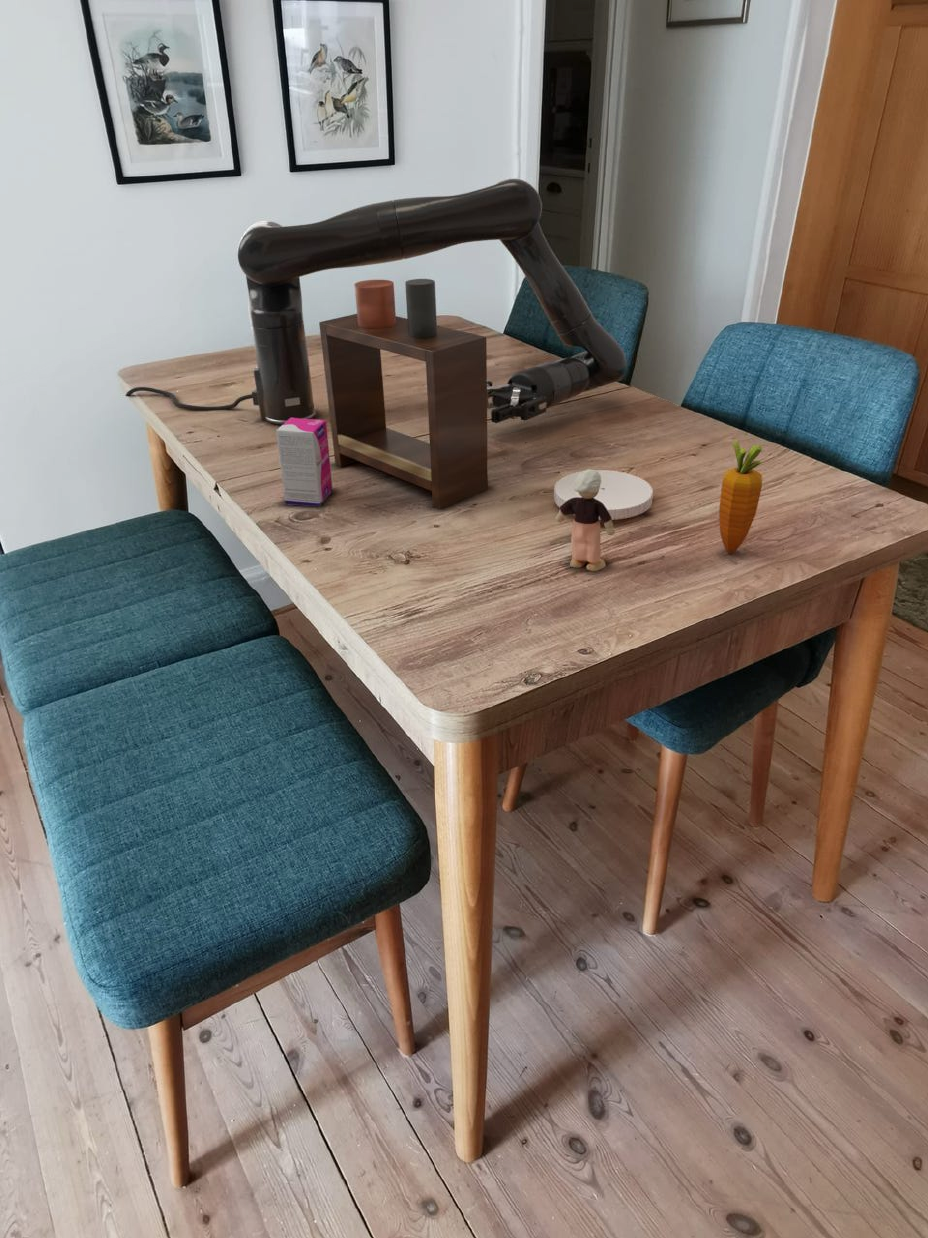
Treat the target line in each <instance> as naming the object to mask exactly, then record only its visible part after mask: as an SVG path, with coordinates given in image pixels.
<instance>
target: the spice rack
mask: <svg viewBox="0 0 928 1238" xmlns="http://www.w3.org/2000/svg"><path fill="white" fill-rule="evenodd" d="M404 285H405V301H406V318H405V317H402V316H397V314H396V298H395V283H394V281H392V280H388V279H367V280H360V281H357V282H355V283H354V294H355V295H354V296H355V306H356V307H355V308H356V313H354V314H349V315H345V316H340V317H336V318H332V319H328V320H323V321H319V322H318V324H319V335H320V343H321V351H322V361H323V367H324V369H323V370H324V376H325V377H324V378H325V386H326V394H327V395H326V396H327V402H328V403H327V404H328V413H329V421H330V428H331V429H330V430H331V438H332V449H333V456H334V465H335V466H337V467H339V468H343V467H345V466H349V465H351V464H354V463H356V462H360V463H362V464H365V465H368V466H369V467H372V468H374V469H377V470H380V471H382V472H384V473H386V474H389V475H392V476H393V477H396V478H399V479H402V480H404V481H407V482H409V483H411V484H414V485H416V486H419V487H421V488H424V489H426V490H429V491H431V495H432V496H431V497H432V498H431V499H432V507H433V508H436V509H438V510H443V509H445V508H446V507H449V506H452V505H453V504H455V503H458V502H461V501H462V500H465V499H467V498H470V497H472V496H474V495H477V494H479V493H481V492H484V491H486V490H488V489H489V476H488V475H489V471H488V470H489V469H488V468H489V465H488V463H489V460H488V408H487V382H488V368H487V367H488V366H487V365H488V363H487V359H488V358H487V355H488V354H487V336H485V335H480V334H475V333H472V332H467V331H462V330H458V329H453V328H449V327H445V326H441V325H438V323H437V299H436V298H437V297H436V281H435V280H434V279H430V278H414V279H409V280H406V281H405V282H404ZM381 350H382V351H385V352H388V353H393V354H396V355H399V356H404V357H407V358H411V359H414V360H418V361H422V362H425V373H426V392H427V393H426V395H427V413H428V433H429V434H428V435H429V436H428V437H429V442H427V441H424V440H421V439H419V438H416V437H413V436H410V435H407V434H404V433H402V432H399V431H397V430H394V429H390V428H388V427H387V420H386V419H387V417H386V406H385V393H384V392H385V391H384V379H383V368H382V367H383V366H382V356H381V355H382V354H381Z"/></svg>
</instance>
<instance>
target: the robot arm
mask: <svg viewBox="0 0 928 1238" xmlns="http://www.w3.org/2000/svg"><path fill="white" fill-rule="evenodd" d="M542 212H543V202H542V199H541V196H540V194H539V192H538V191H537V189H536V188H535V187H534V186H532V184H531V183H529V182H527V181H526V180H524V179H521V178H520V179H519V178H508V179H503V180H501V181H498V182H497V183H495V184H493V185H490V186H486V187H483V188H480V189H477V190H473V191H468V192H465V193H460V194H455V195H445V196H443V195H442V196H417V197H405V198H399V199H393V200H386V201H381V202H376V203H371V204H365V205H363V206H359V207H356V208H353V209H350V210H347V211H345V212H341V213H340V214H337V215H334V216H331V217H328V218H327V219H324V220H321V221H317V222H313V223H307V224H299V225H297V224H296V225H287V226H283V225H282V224H280V223H278V222H275V221H271V220H261V221H258V222H255V223H254V224H252V225H250V226H249V227H248V228H247V229H246V231H245V232H244V233H243V235H242V236H241V238H240V240H239V242H238V245H237V249H236V250H237V252H236V256H237V257H236V258H237V263H238V266H239V268H240V269H241V271H242V273H243V274H244V275H245V278H246V279H245V280H246V288H247V296H248V297H247V298H248V315H249V321H250V328H251V333H252V340H253V341H252V342H253V346H254V353H255V359H256V365H257V366H256V367H254V368H253V377H254V382H255V389H254V390H253V391H252V392H251V394H246V395H242V396H240V397H238V398H236V399H235V401H234V402H232V403H230V404H226V405H220V406H219V405H218V406H201V405H192V404H186V403H181V402H179V401H178V400H177V398H176V396H175V394H174V393H172V392H170V391H167V390H162V389H157V388H153V387H147V386H136V387H133V388H131V389H130V390H128V391H127V392H126V393H125V395H124V396H125V397H130V396H131V395H133V394H134V393H136V392H151V393H155V394H159V395H164V396H167V397H170V398H171V402H172V403H173V404H174V406H176V407H178V408H181V409H185V410H186V409H187V410H192V411H222V410H223V411H225V410H230V409H234V408H236V407H237V406H238V405H239V404H240V403H241V402H243V401H246V400H251V399H252V403H253V406H258V408H259V415H260V420H261V421H266V422H268V423H270V424H273V425H281V426H282V425H283V424H284V423H285V422H287V421H288V420H289V419H290V418H301V419H315V417H316V416H317V414H316V408H315V401H314V395H313V385H312V377H311V370H310V369H311V368H310V361H309V353H308V345H307V337H306V329H305V321H304V313H303V297H302V289H301V280H300V277H304V276H307V275H311V274H315V273H318V272H324V271H327V270H334V269H345V268H347V269H348V268H357V267H363V266H364V267H365V266H373V265H379V264H380V265H381V264H387V263H392V262H397V261H403V260H408V259H412V258H416V257H420V256H424V255H427V254H431V253H434V252H438V251H441V250H444V249H447V248H451V247H453V246H457V245H461V244H466V243H473V242H484V241H485V242H486V241H497V240H499V242H501V243H502V245H503V246H504V247H505V248H506V250H507V251H508V252H509V254H510V255H511V256H512V257H513V259H514V261H515V262H516V263H517V265H518V266H519V268H520V269H521V271H522V273H523V275H524V276H525V278H526V280H527V282H528V283H529V285H530V287H531V288H532V290H533V292H534V294H535V296H536V298H537V300H538V302H539V303H540V305H541V307H542V309H543V312H545V315H546V317H547V318H548V320H549V322H550V324H551V326H552V327H553V329H554V331H555V333H556V335H557V336H558V338H559V340H560V341H561V343H562V344H563V345H564V346H566V347H578V348H581V349H583V350H584V351H582V352H580V353H578V354H575V355H572V356H570V357H569V356H567V357H564V358H562V359H557V360H553V361H550V362H545V363H540V364H538V365H535V366H532V367H529V368H526V369H523V370H519V371H516V372H514V373H513V374H512V375H511V377H510V378H509V380H508V381H507V383H500V384H499V385H493V382H492V381H490V380H487V409H492V410H491V411H490V415H491V417H490V418H491V423H494V424H498V423H501V422H504V421H506V420H509V419H511V420H516V419H517V420H518V418H520V420H521V421H525V422H526V421H529V420H531V419H533V418H535V417H538V416H540V415H542V414H545V413H547V409H550V408H553V407H555V406H557V405H559V404H560V403H562V402H565V401H567V400H569V399H572V398H575V397H577V396H579V395H581V394H582V393H586V392H588V391H589V392H590V391H592V390H595V389H599V388H601V387H604V386H607V385H611V384H614V383H617V382H618V381H621V380H622V379H623V378H624V377H625V375H626V373H627V365H628V364H627V363H628V362H627V358H626V354H625V352H624V350H623V348H622V347H621V345H620V344H619V342H617V341H616V339H615V338H614V337H613V336H612V335H611V333H609V332H608V331H607V330H606V329H605V327H603V326H602V325H601V323H599V322H598V321H597V320H596V318H595V317H594V315H593V313H592V311H591V310H590V307H589V306H588V304H587V302H586V300H585V299H584V296H583V295H582V293H581V291H580V290H579V288H578V286H577V285H576V284H575V282H574V281H573V279H572V278H571V276H570V275H569V273H568V272H567V270H565V267H564V266H563V265H562V264H561V262H560V261H559V259H558V258H557V256H556V255H555V253H554V252H553V250H552V248H551V246H550V245H549V243H548V240H547V239H546V236H545V234H544V233H543V230H542V228H541V224H540V222H539V221H540V219H541V217H542V214H543V213H542ZM490 398H491V399H492V400H491V402H489V399H490Z"/></svg>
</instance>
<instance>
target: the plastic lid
mask: <svg viewBox="0 0 928 1238" xmlns="http://www.w3.org/2000/svg"><path fill="white" fill-rule="evenodd" d="M593 470H594V471H597V472H598V473H599V474H600V476H601V483H600V485H601V486H600V488H599V492H598V494H597V495H596V496H595V497H594V499H596V500H598V501H600V502H602V503H603V504H604V505H605V507H606V508H607V510H608V512H609V514H610V516H611V518H612V521H614V520H617V521H618V520H623V519H627V518H633V517H637V516H638V515H641V514H643V513H644V512H645V513H646V511H648V510H649V509H650V507H651V506H652V505H653V495H654V489H653V487H652V485H650V483H649V481H646V480H644V479H643V478H641V477H638V476H637V475H634V474H631V473H628V472H623V471H619V470H618V471H617V470H608V469H605V470H604V469H601V470H600V469H593ZM583 471H584V470H582V471H577V472H573V473H570V474H567V475H564V476H562V477H561V478H560V479H558V481H556V483H555V484H554V486H553V500H554V503H555V504H556V506H557V507H558V508H559V509H560V506H561V505H563V504H564V503H565V502H566V501H568V500H569V499H571V498H575V497H580V498H582V497H581V496H580V495H579V492H576V491H575V490H574V488H573V487H572V486H573V485H574V482H575V479H576V478H577V477H578V476H579V474H580V473H582V472H583ZM572 515H573V516H575V514H572ZM600 520H601V519H600V517H599V521H600Z"/></svg>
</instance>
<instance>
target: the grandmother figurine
mask: <svg viewBox="0 0 928 1238" xmlns="http://www.w3.org/2000/svg"><path fill="white" fill-rule="evenodd" d="M594 470H595V469H591V468H590V469H585V470H582V471H583V472H582V473H580V474H579V476H578V477H577V478H576V479H575V482H574V485H573V486H572V487H573V488H574V490H575V491H576V492H579V495H580V496H581V497H582V498H580V497H575V498H571V499H569V500H568V501H566V502H565V503H564V504H563V505H561V506H560V508H559V511H558V513H557V515H556V516H555V520H556V521H557V522H558V523H563V522H564V520H565V517H567V516H572V515H573V514H575V515H574V518H573V520H572V526H571V538H570V541H571V543H570V545H571V560H570V562H569V566H570V567H572V568H575V569H577V568H579V569H580V568H582V567H583V566H584V565H585V564H586V563H587V565H586V567H585V568H586V570H588V571H590V572H597V571H600V570H602V569H605V567H606V562H605V560H604V559H603V558H601V554H602V553H601V552H602V549H601V542H602V541H601V540H602V539H601V537H602V535H601V533H602V532H601V531H602V530H601V523H600V520H601V522H602V524H603V526H604V528H605V529H606V530H605V532H606V534H607V535H608V536H613V535H615V532H616V530H615V528H614V523H613V520H612V518H611V516H610V514H609V512H608V510H607V508H606V507H605V505H604V504H603V503H602V502H600V501H598V500H596V499H594V497H595V496H596V495H597V494H598V492H599V488H600V486H601V485H600V483H601V476H600V474H599V473H598V472H597V471H594ZM599 517H600V520H599Z"/></svg>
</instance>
